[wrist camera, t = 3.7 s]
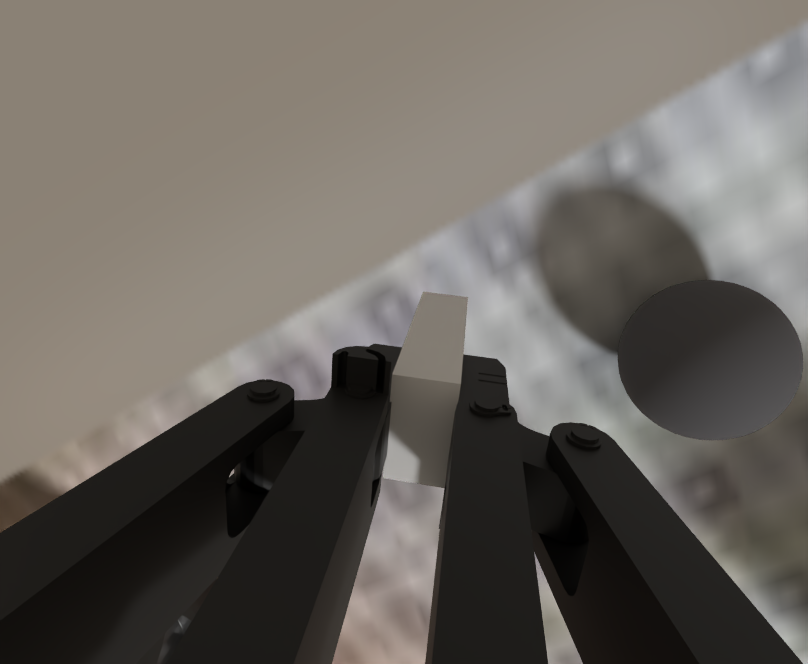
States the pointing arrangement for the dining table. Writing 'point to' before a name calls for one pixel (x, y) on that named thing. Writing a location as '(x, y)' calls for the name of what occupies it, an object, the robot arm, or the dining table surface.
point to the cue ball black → (710, 360)
